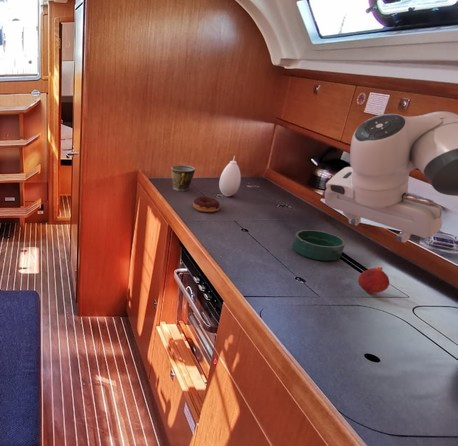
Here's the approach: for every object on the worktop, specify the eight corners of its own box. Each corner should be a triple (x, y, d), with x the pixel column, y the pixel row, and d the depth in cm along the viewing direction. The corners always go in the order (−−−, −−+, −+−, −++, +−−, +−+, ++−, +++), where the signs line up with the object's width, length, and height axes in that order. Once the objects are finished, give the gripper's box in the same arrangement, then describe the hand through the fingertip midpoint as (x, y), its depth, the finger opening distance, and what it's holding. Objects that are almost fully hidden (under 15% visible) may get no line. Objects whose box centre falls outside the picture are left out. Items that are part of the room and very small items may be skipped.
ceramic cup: (168, 185, 188) (170, 164, 184) (191, 186, 185) (194, 165, 181) (169, 194, 177) (172, 172, 172) (193, 195, 173) (196, 173, 169)
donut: (215, 215, 152) (217, 205, 151) (189, 210, 158) (190, 201, 156) (221, 207, 160) (223, 198, 158) (196, 202, 165) (197, 194, 164)
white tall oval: (240, 199, 167) (248, 157, 160) (220, 198, 168) (227, 157, 161) (234, 192, 174) (241, 152, 167) (215, 192, 175) (221, 152, 168)
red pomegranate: (361, 298, 100) (371, 271, 97) (350, 286, 105) (359, 260, 102) (389, 300, 99) (400, 273, 96) (375, 288, 104) (385, 261, 101)
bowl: (335, 247, 125) (339, 232, 123) (345, 265, 115) (350, 250, 113) (289, 241, 130) (293, 227, 128) (295, 258, 120) (299, 243, 118)
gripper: (454, 193, 74) (446, 241, 82) (337, 165, 91) (340, 207, 99) (431, 214, 74) (425, 260, 81) (318, 181, 91) (322, 222, 98)
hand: (377, 231), depth 90 cm, fingers open, 8 cm apart
